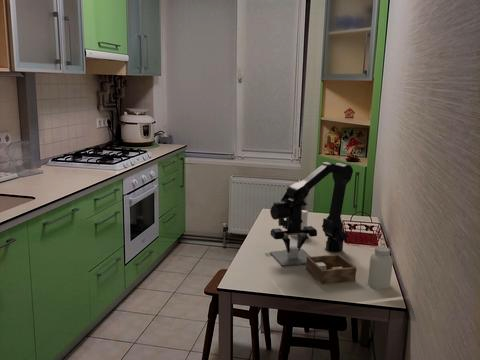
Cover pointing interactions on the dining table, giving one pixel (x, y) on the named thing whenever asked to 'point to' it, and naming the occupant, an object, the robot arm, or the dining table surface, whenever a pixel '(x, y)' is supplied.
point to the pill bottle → (380, 268)
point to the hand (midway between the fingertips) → (292, 251)
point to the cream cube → (321, 265)
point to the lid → (290, 257)
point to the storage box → (330, 274)
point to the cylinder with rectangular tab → (304, 218)
